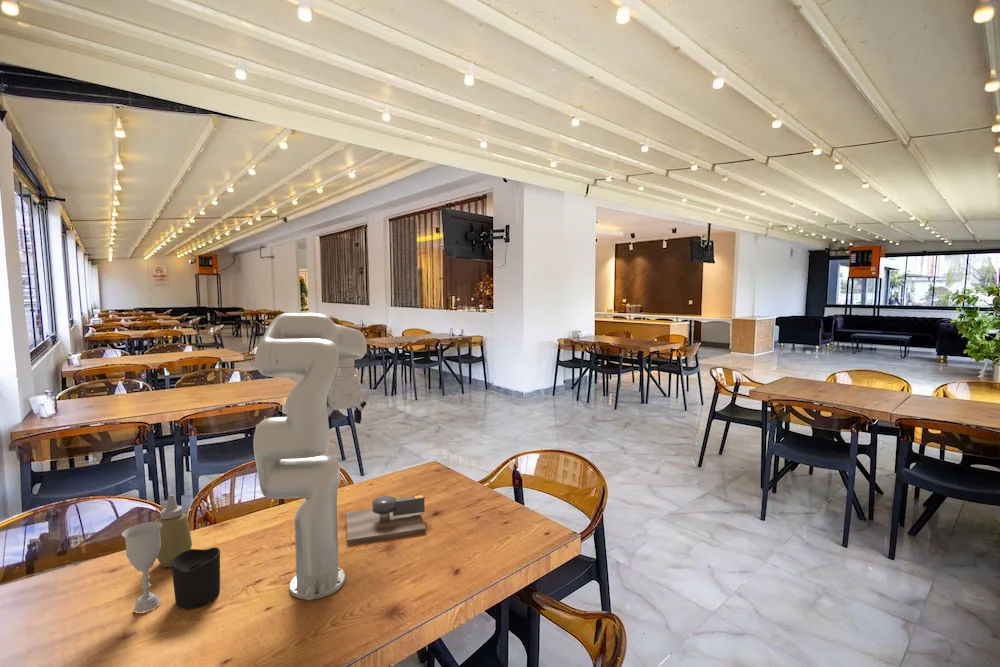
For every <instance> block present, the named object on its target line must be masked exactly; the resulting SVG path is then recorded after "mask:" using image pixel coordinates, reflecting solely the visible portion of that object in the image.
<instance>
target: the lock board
mask: <svg viewBox="0 0 1000 667" xmlns="http://www.w3.org/2000/svg"><path fill="white" fill-rule="evenodd" d="M426 530H427V527H426V524H425V522H424V519H423V517H422V514H421V512H420V513H413V514H405V515H398V516H393V512H391V513H388V514H377V513H374V512H373V508H370V509H361V510H355V511H347V512H346V540H347V541H346V542H347V543H346V545H347V546H349V545H357V544H362V543H363V544H364V543H368V542H375V541H381V540H389V539H388V538H390V539H395V537H397V538H402V536H404V537H409V535H410V536H414V535H415V534H417V535H421V534H420V533H423V534H426V533H427V531H426Z"/></svg>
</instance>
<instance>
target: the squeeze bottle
mask: <svg viewBox="0 0 1000 667" xmlns="http://www.w3.org/2000/svg"><path fill="white" fill-rule="evenodd" d="M165 505H166V506H165V508H162V509H161V510H160V518H159V519H158V520H157V521H156V522H161V523H162V524H163V525H162V527H161V529H160V538H161V548H160V551H159V554H158V556H157V558H156V559H157V561H158V563H159V565H160V566H161V567H162V568H164V567H165V569H166V567H170V568H172V564H171V562H172V560H173V559H174V558H175V557H176V556H177V555H179V554H180V553H182V552H184V551H187V550H190V549H192V546H193V540H192V536H191V531H190V525H189V518H188V514H186V513H184V511H183V509H184V507H183V506H182V505H178V503H177V500H176V498H175V495H174V494H169V495H168V496H167V501H166V504H165Z"/></svg>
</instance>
